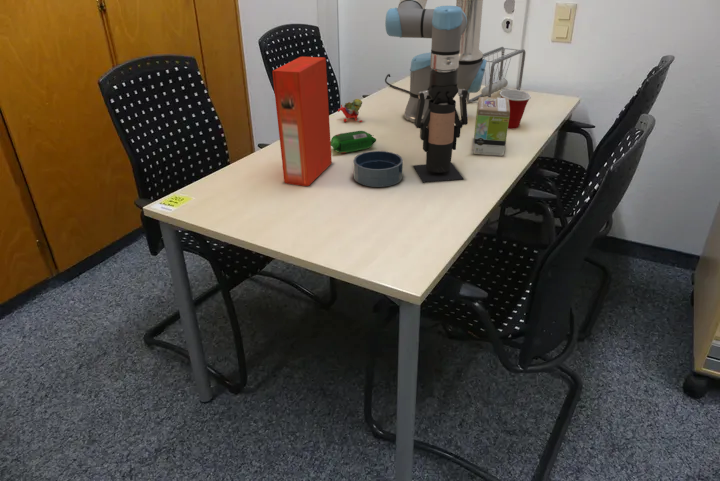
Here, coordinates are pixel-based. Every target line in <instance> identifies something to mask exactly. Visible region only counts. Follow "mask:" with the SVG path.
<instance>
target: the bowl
mask: <svg viewBox="0 0 720 481" xmlns="http://www.w3.org/2000/svg"><path fill="white" fill-rule="evenodd" d="M352 162H353V163H352V166H353V180H354V181H356V183H358V184H360V185H363V186H367V187H371V188H384V187H390V186H394V185H396V184H398V183H400V182H401V181H402V180H403V176H404V159H403V157H402V156H401V155H400V154H398V153H395V152H392V151H387V150H372V151H366V152H362V153H359V154H357V155H356V156H354V158H353V161H352Z"/></svg>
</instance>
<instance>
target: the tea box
mask: <svg viewBox="0 0 720 481" xmlns="http://www.w3.org/2000/svg"><path fill="white" fill-rule="evenodd" d="M477 102H478V103H477V107H476V113H475V114H476V115H475V125H474V134H473V148H472V149H473V150H472V152H473V155H483V156H499V157H500V156H504V155H505V150H506V144H507V143H506V142H507V136H508V130H509V128H508V123H509V117H510V105H509V98H501V97H493V96H491V97H488V96H482V97H479V98H478V99H477Z"/></svg>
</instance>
